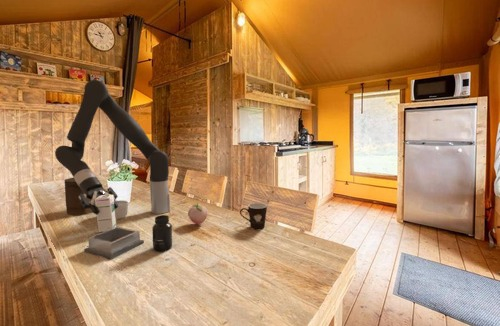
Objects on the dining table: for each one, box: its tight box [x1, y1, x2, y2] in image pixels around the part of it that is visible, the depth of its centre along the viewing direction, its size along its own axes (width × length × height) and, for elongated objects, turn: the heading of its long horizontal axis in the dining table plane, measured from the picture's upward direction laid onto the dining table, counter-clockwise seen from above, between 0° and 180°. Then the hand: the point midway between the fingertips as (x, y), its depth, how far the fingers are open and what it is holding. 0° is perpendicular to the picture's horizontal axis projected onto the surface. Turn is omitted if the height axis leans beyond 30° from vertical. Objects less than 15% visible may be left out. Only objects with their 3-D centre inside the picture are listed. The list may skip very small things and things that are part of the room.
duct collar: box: [84, 226, 145, 260], centre depth 92 cm, size 14×14×5 cm
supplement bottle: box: [151, 214, 173, 253], centre depth 91 cm, size 7×7×12 cm
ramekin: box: [115, 200, 130, 221], centre depth 126 cm, size 13×13×7 cm
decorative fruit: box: [187, 203, 209, 225], centre depth 115 cm, size 9×8×10 cm
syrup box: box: [95, 195, 117, 233], centre depth 106 cm, size 6×6×14 cm
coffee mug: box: [239, 202, 268, 230], centre depth 113 cm, size 12×9×10 cm
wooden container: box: [64, 177, 96, 216], centre depth 134 cm, size 15×15×22 cm
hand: (107, 210), depth 105 cm, fingers closed on syrup box, 8 cm apart
